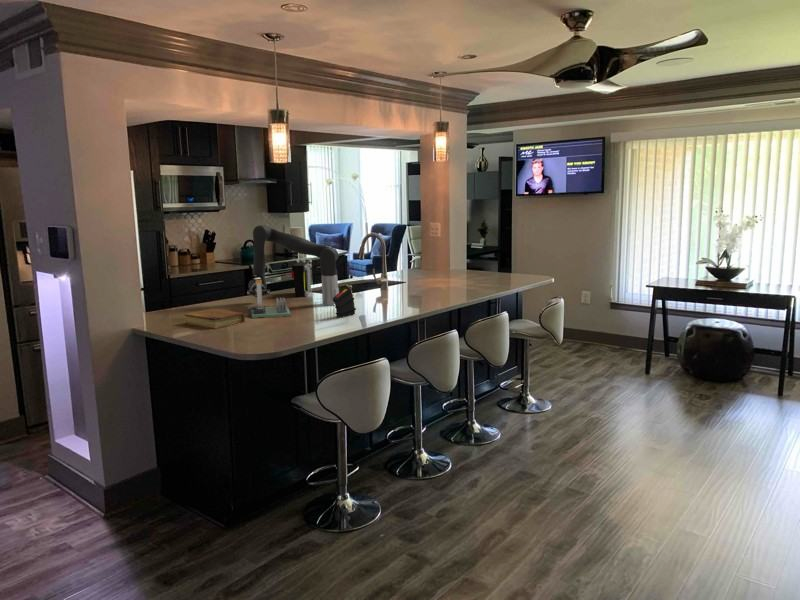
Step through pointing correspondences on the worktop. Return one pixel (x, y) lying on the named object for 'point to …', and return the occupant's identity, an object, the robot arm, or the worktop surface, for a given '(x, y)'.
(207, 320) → the diary
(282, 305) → the heatsink
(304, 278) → the electrical component
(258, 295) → the clip lever
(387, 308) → the worktop surface
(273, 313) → the board
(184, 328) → the worktop surface
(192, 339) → the worktop surface
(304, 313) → the worktop surface
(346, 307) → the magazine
